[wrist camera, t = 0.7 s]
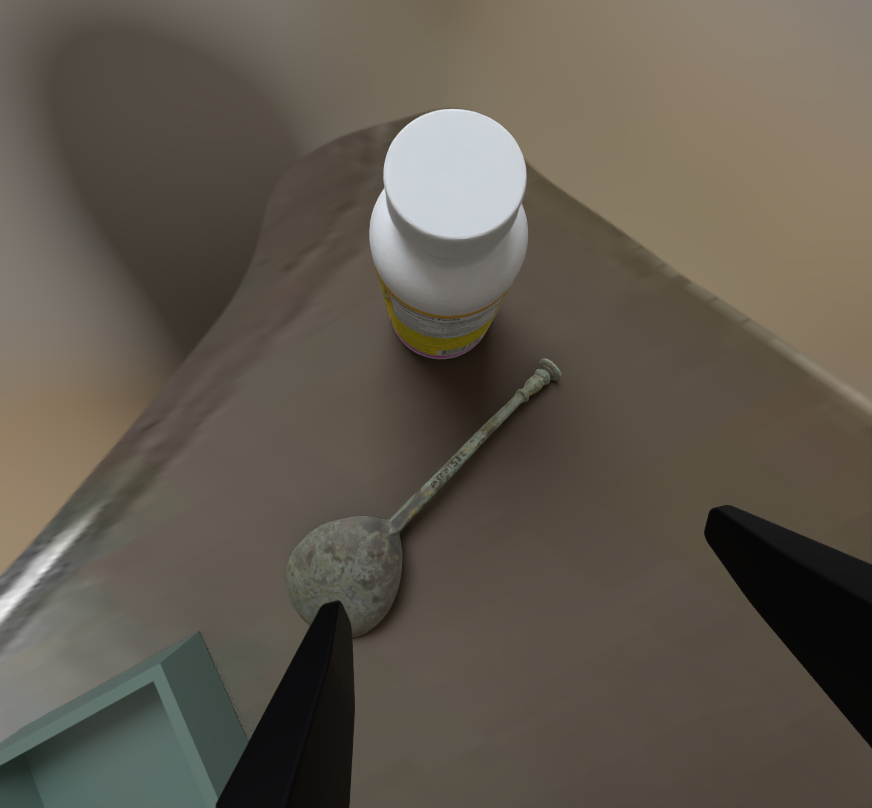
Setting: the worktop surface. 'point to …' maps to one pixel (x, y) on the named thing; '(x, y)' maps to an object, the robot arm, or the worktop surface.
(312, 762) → the robot arm
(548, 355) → the worktop surface
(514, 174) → the supplement bottle
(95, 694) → the tray
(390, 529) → the soupspoon
